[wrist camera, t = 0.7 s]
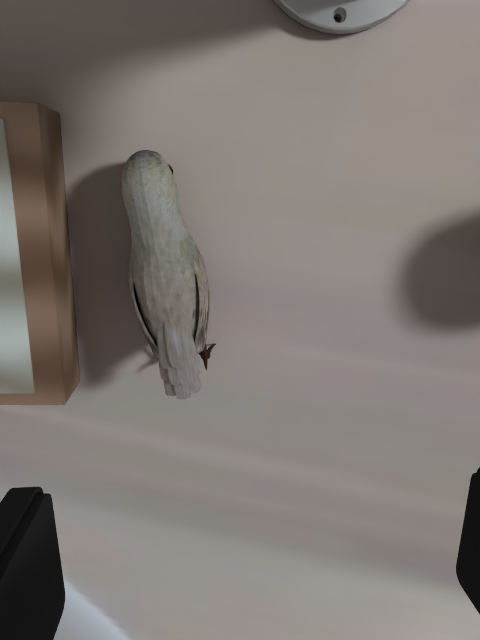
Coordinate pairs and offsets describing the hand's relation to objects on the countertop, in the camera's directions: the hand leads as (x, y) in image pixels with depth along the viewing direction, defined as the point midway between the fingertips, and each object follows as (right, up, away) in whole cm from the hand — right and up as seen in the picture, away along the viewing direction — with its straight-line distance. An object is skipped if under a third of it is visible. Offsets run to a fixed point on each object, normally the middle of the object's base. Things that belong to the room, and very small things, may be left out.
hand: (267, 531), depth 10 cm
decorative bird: (-6, +9, +24) cm, 26 cm away
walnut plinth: (-19, +9, +23) cm, 31 cm away
